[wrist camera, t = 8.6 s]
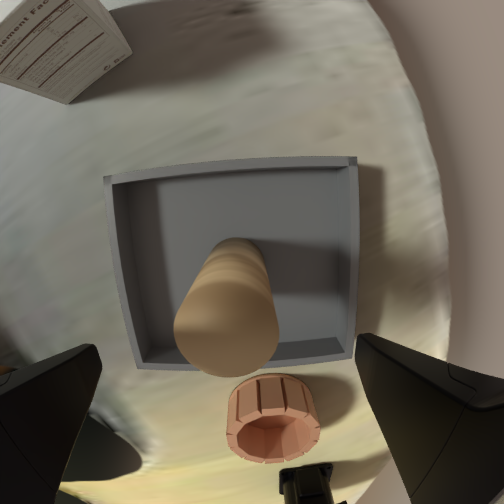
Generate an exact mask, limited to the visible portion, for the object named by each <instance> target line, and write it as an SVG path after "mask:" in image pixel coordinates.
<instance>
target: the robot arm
mask: <svg viewBox="0 0 504 504" xmlns="http://www.w3.org/2000/svg"><path fill="white" fill-rule="evenodd" d="M355 362H356V366H357V369H358V372H359V375H360V378H361V381H362V385H363V388H364V391H365V394H366V397H367V399H368V402H369V404H370V406H371V408H372V411H373V413H374V415H375V417H376V419H377V422H378V424H379V426H380V429H381V431H382V433H383V435H384V438H385V440H386V442H387V445H388V447H389V449H390V452H391V454H392V456H393V459H394V461H395V463H396V466H397V468H398V471H399V473H400V475H401V478H402V480H403V483H404V485H405V488H406V490H407V493H408V496H409V498H411V499H410V501H411V504H504V379H502V378H498V377H494V376H489V375H485V374H481V373H478V372H475V371H471V370H468V369H465V368H462V367H459V366H456V365H453V364H451V363H448V364H447V362H445V361H442V360H440V359H437V358H434V357H431V356H429V355H426V354H423V353H421V352H418V351H415V350H413V349H410V348H408V347H405V346H402V345H400V344H397V343H394V342H392V341H389V340H387V339H384V338H382V337H379V336H377V335H374V334H371V333H364V334H359V335H358V336H357V341H356V349H355ZM101 372H102V362H101V359H100V356H99V353H98V350H97V348H96V346H95V345H94V344H82V345H80V346H77V347H75V348H72V349H70V350H67V351H65V352H62V353H60V354H57V355H55V356H52V357H50V358H47V359H44V360H42V361H39V362H37V363H34V364H32V365H29V366H26V367H24V368H21V369H19V370H16V371H13V372H12V373H8V374H5V375H3V376H0V504H54V502H55V499H56V496H57V494H56V493H57V492H58V489H59V486H60V483H61V480H62V477H63V474H64V471H65V468H66V466H67V463H68V460H69V457H70V455H71V452H72V449H73V447H74V444H75V441H76V439H77V436H78V434H79V431H80V429H81V426H82V424H83V421H84V419H85V417H86V414H87V412H88V410H89V407H90V405H91V402H92V400H93V397H94V393H95V390H96V387H97V384H98V381H99V378H100V375H101ZM332 470H333V465H332V464H331V463H330V464H324V465H317V466H311V467H303V468H295V469H286V470H281V471H280V472H279V493H280V494H281V495H284V500H285V504H334V501H333V496H332V492H331V488H330V484H329V481H330V477H331V474H332ZM338 504H347V502H346V501H342V502H341V503H338Z"/></svg>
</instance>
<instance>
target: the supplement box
mask: <svg viewBox="0 0 504 504" xmlns="http://www.w3.org/2000/svg"><path fill="white" fill-rule="evenodd" d="M132 53H133V52H132V50H131V48H130V46H129V45H128V43H127V41H126V39H125V38H124V36H123V34H122V32H121V31H120V29H119V27H118V26H117V24H116V23H115V21H114V19H113V18H112V16H111V14H110V13H109V11H108V10H107V9H106V8H105V7H104V6H103V5H102V3H101V2H100V1H99V0H0V82H1V83H4V84H7V85H10V86H13V87H16V88H19V89H22V90H25V91H28V92H31V93H34V94H37V95H40V96H43V97H45V98H48V99H51V100H54V101H57V102H60V103H62V104H65V105H67V104H68V103H70V102H71V101H72V100H73V99H74V98H76V97H77V96H78V95H79V94H80V93H81V92H83V91H84V90H85V89H86V88H87V87H89V86H90V85H91V84H92V83H94V82H95V81H96V80H97V79H99V78H100V77H101V76H103V75H104V74H105V73H107V72H108V71H109V70H111V69H112V68H113V67H115V66H116V65H117V64H119V63H120V62H122V61H123V60H125V59H126V58H127V57H129V56H130V55H131V54H132Z"/></svg>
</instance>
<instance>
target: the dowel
mask: <svg viewBox="0 0 504 504" xmlns="http://www.w3.org/2000/svg"><path fill="white" fill-rule="evenodd" d="M174 337H175V341H176V344H177V346H178V349H179V350H180V352H181V354H182V355H183V356H184V357H185V359H186V360H187V361H188V362H189V363H191V364H192V365H193V366H194V367H196V368H198V369H199V370H201V371H203V372H205V373H208V374H211V375H214V376H219V377H239V376H244V375H247V374H250V373H252V372H254V371H256V370H258V369H260V368H261V367H262V366H264V365H265V364H266V363H267V362H268V361H269V360H270V359H271V357H272V356H273V354H274V352H275V351H276V348H277V346H278V342H279V325H278V320H277V316H276V311H275V306H274V302H273V297H272V293H271V288H270V284H269V279H268V275H267V270H266V266H265V261H264V257H263V255H262V253H261V251H260V249H259V248H258V247H257V246H256V245H255V244H254V243H252V242H251V241H249V240H247V239H244V238H238V237H233V238H228V239H225V240H223V241H221V242H219V243H218V244H217V245H216V246H215V247H214V248H213V249H212V251H211V253H210V254H209V256H208V258H207V260H206V261H205V263H204V265H203V267H202V268H201V270H200V272H199V274H198V275H197V277H196V279H195V281H194V283H193V284H192V286H191V288H190V290H189V292H188V293H187V295H186V297H185V299H184V301H183V303H182V304H181V306H180V308H179V310H178V312H177V314H176V317H175V321H174Z"/></svg>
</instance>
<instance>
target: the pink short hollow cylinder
mask: <svg viewBox="0 0 504 504" xmlns="http://www.w3.org/2000/svg"><path fill="white" fill-rule="evenodd" d="M320 429H321V427H320V423H319V420H318V416H317V413H316V409H315V406H314V402H313V399H312V395H311V392H310V390H309V388H308V387H307V386H306V385H305V384H304V383H303V382H302V381H301V380H299V379H297V378H295V377H293V376H290V375H286V374H279V373H269V374H262V375H257V376H254V377H251V378H249V379H247V380H245V381H243V382H242V383H241V384H239V385H238V386H237V387H236V388H235V389H234V390H233V392H232V394H231V395H230V398H229V405H228V420H227V432H226V436H227V441H228V446H229V447H230V449H231V450H232V451H233V452H235V453H236V454H237V455H238V456H240V457H241V458H243V457H244V459H246V460H250V461H254V462H258V463H262V462H263V461H264V460H265V464H267V463H280V462H284V459H285V460H287V461H290V460H292V459H295V458H297V457H299V456H302V455H304V452H306V453H307V452H308V451H309V450H310V449H311V448H312V447H313V446H314V445H315V444H316V443H317V442H318V441H317V440H319V436H320Z"/></svg>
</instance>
